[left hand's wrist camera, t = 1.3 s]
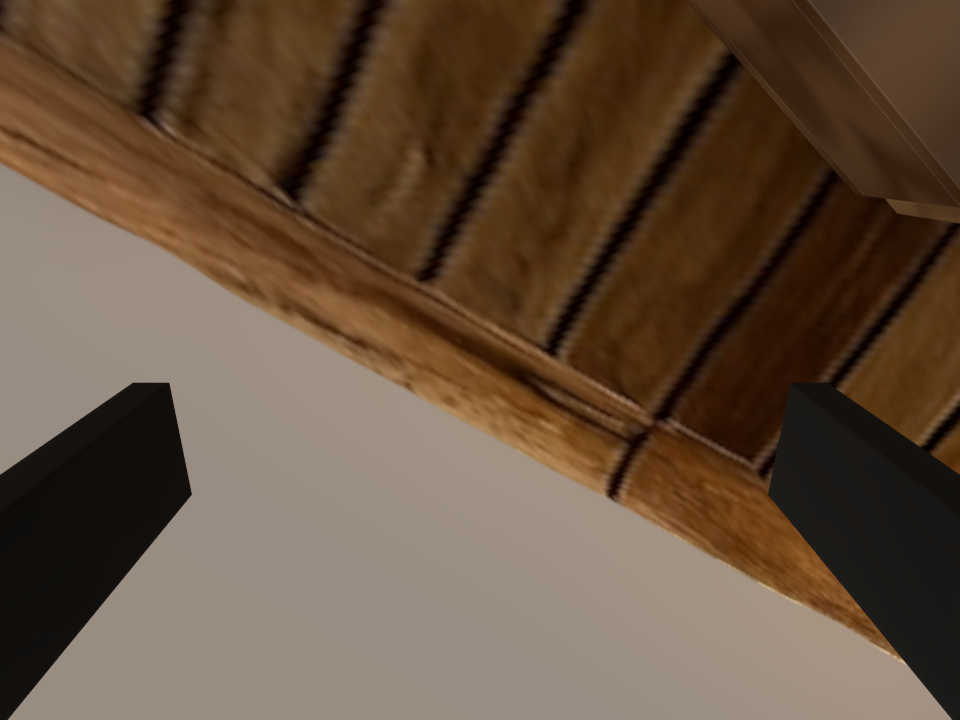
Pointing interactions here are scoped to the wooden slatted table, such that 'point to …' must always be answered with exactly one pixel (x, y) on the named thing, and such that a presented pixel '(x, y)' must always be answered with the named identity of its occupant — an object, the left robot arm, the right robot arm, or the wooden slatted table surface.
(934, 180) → the cabinet
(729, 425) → the wooden slatted table surface
